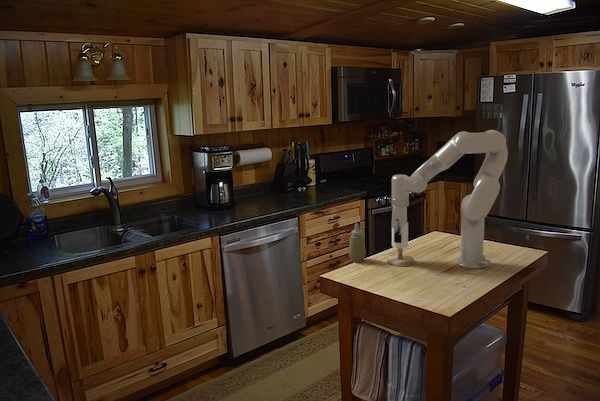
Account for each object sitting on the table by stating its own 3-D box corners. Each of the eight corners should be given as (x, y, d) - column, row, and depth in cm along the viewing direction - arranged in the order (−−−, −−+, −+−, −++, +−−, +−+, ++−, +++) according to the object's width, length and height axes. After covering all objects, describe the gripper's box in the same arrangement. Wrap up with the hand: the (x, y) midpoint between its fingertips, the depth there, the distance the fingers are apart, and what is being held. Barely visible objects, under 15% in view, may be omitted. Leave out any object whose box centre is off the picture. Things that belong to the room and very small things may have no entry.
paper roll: (410, 245, 219) (411, 222, 217) (400, 249, 215) (400, 225, 213) (399, 242, 225) (399, 219, 222) (388, 245, 221) (388, 222, 219)
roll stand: (419, 262, 220) (419, 240, 218) (400, 268, 213) (400, 245, 211) (399, 256, 230) (399, 235, 228) (381, 261, 223) (381, 240, 221)
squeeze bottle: (368, 259, 228) (368, 222, 224) (361, 264, 221) (360, 226, 217) (353, 256, 232) (352, 220, 228) (345, 261, 225) (344, 224, 222)
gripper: (396, 197, 225) (396, 234, 229) (386, 205, 210) (386, 244, 213) (412, 198, 222) (412, 235, 226) (403, 207, 206) (403, 246, 210)
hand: (399, 239), depth 219 cm, fingers closed on paper roll, 7 cm apart
